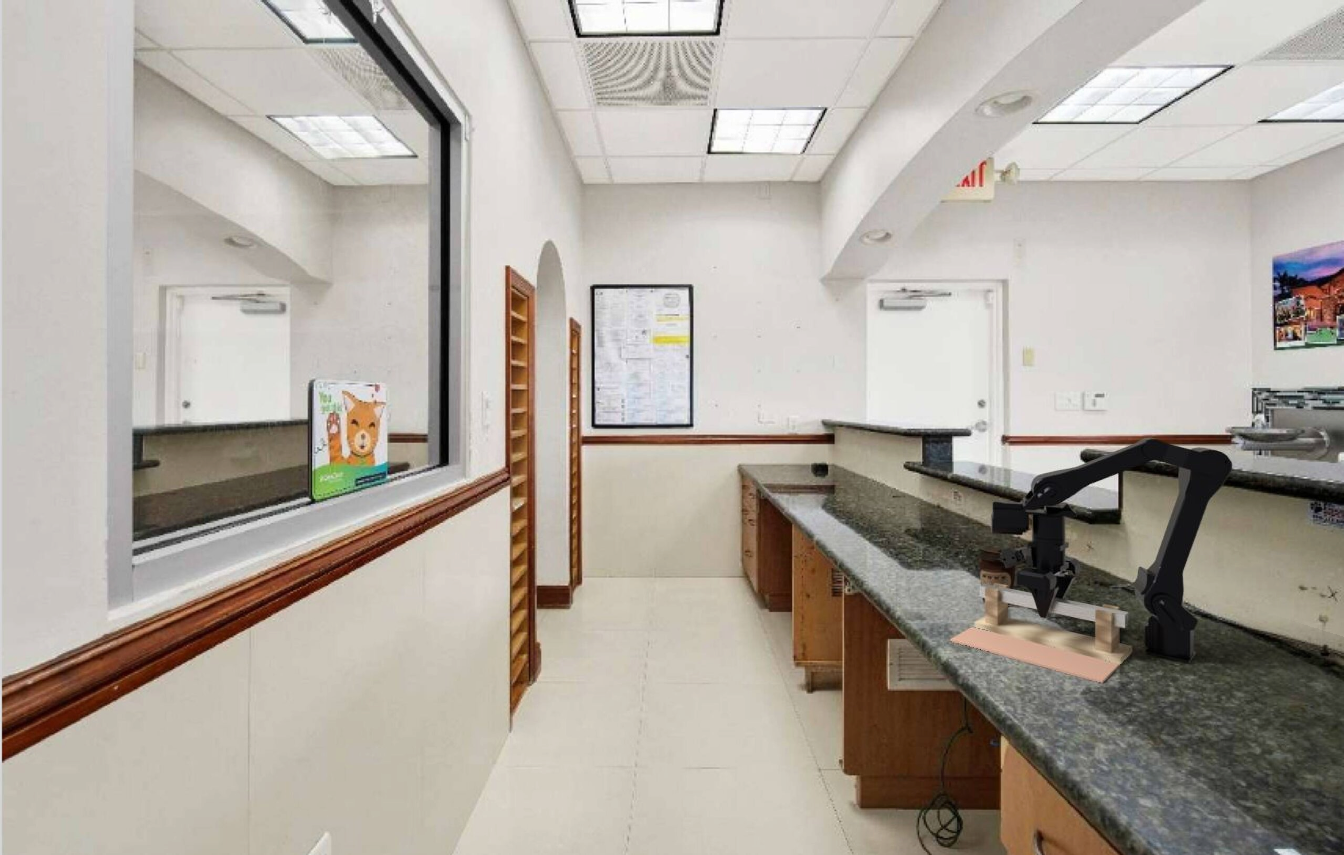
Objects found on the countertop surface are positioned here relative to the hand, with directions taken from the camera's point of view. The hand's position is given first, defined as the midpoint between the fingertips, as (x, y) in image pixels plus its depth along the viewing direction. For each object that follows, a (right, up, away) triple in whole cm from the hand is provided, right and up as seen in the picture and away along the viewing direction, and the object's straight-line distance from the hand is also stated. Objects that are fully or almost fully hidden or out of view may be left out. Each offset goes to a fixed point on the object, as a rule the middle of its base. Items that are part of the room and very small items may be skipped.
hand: (1048, 613), depth 124 cm
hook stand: (0, -5, 0) cm, 5 cm away
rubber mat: (-7, -6, -6) cm, 11 cm away
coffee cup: (+2, -5, +23) cm, 23 cm away
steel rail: (0, +1, 0) cm, 1 cm away
